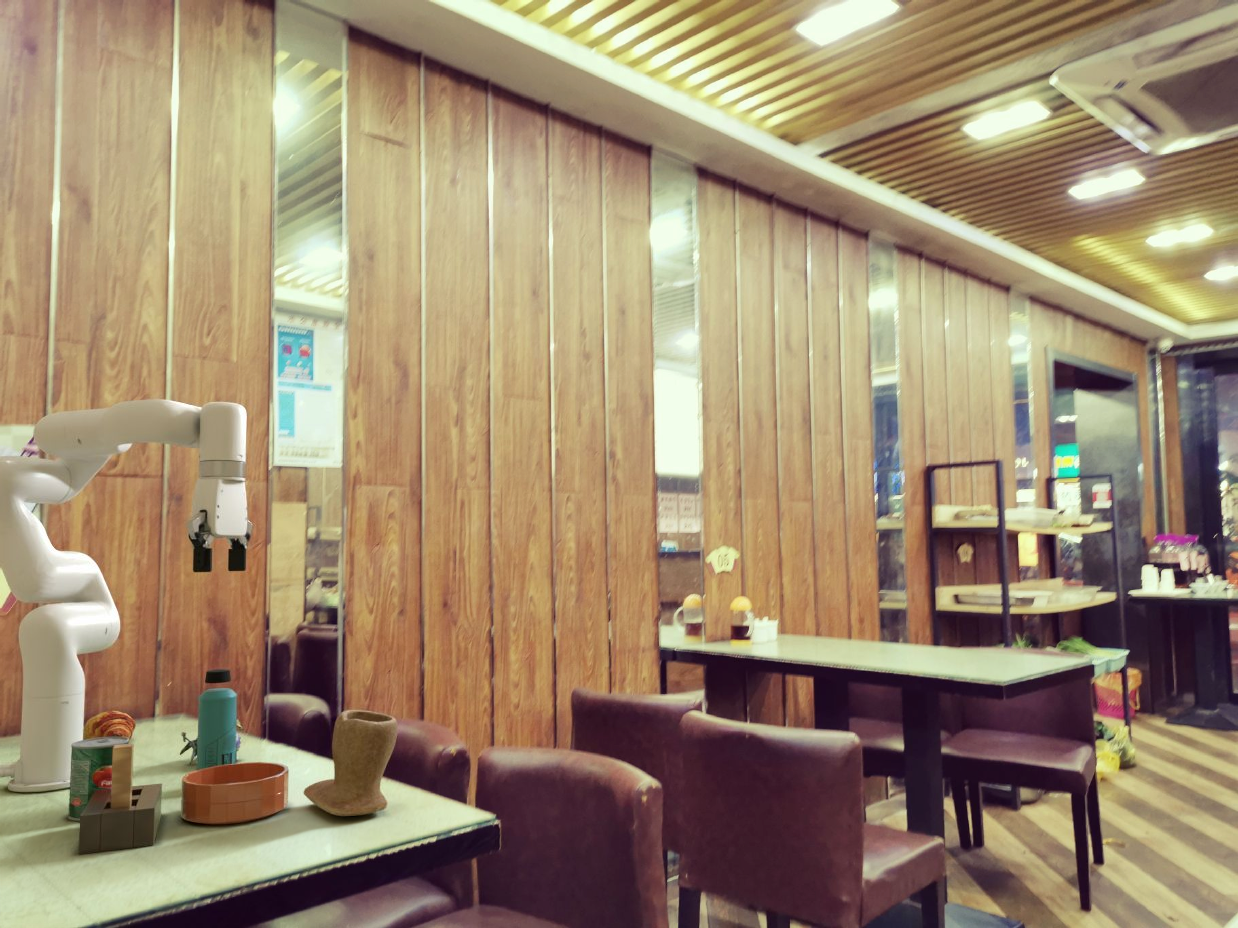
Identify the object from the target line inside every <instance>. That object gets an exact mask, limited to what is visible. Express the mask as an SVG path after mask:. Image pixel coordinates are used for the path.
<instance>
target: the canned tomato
mask: <svg viewBox="0 0 1238 928" xmlns="http://www.w3.org/2000/svg"><path fill="white" fill-rule="evenodd" d="M129 741H130V739H129V738H126V737H100V738H92V739H86V740H81V741H77V742H74V743H73V744H72V745H71V747H72V752H71V772H70V787H69V794H68V795H69V799H68V816H67V818H68V819H69V820H70V821H75V822H80V815H81V814H82V812H83V810H84V809H85V807H86V805H87V803H88V802H89V800H90V798H91V797H92V795H93V793H94V791H95V790H100V789H110V788H111V786H112V759H113V747H114V746H115V745H121V744H129Z"/></svg>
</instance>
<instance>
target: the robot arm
mask: <svg viewBox="0 0 1238 928" xmlns="http://www.w3.org/2000/svg"><path fill="white" fill-rule="evenodd" d="M33 441H34V443H35V445H36V446H37V447H38V448H39V450H41V451H42V452H43V453H45V454H47V455H49V456H51V457H55V459H49V458H41V457H40V458H39V457H32V456H24V455H2V456H0V569H1V571H2V574H3V576H4V578H5V581H6V583H7V586H8V588H9V590H10V592H11V594H12V595H13V596H14V598H15V599H17V600H18V601H19V602H22V603H26V604H44V605H41V606H38V607H36V608H34V609H33V610H30V611H29V612H28V613H26V615H25V616H24V617H23V619H22V620H21V622H20V624H19V628H18V644H19V648H20V655H21V662H22V675H23V676H22V701H21V703H22V704H21V724H20V725H21V727H20V745H19V759H18V760H17V761H13V762H12V763H11V764H0V778H5V777H7V778H8V777H10V779H11V780H9V781H8V782H7V789H8V790H9V791H11V792H16V793H40V792H51V791H57V790H63V789H67V788H70V772H71V752H72V747H71V745H72V744H73V743H74V742H77V741H81V740H83V729H84V726H85V724H84V722H85V721H84V720H85V698H86V696H85V695H86V677H85V672H84V669H83V666H82V664H81V663H80V660H79V658H78V655H85V654H91V653H96V652H97V653H98V652H101V651H104V650H106V649H108V648H111V646H113V645H114V644H115V642H117V640H118V637H119V635H120V632H121V619H120V614H119V611H118V609H117V606H116V603H115V602H114V599H113V596H112V595H111V592H110V589H109V588H108V585H107V582H106V580H105V578H104V575H103V573H102V571H101V569H100V567H99V566H98V564H97V562H95V560H94V559H93V558H92V557H91V556H89V555H88V554H85V553H83V552H79V551H74V550H58V549H56V548H55V547H54V546H53V545H52V543H51V541H50V538H49V537H48V534H47V531H46V529H45V526H44V525H43V524H42V522H41V520H39V519H38V518H37V516H36V515H35V514H34V513H33V512H32V511H31V510H29V509H28V508H27V506H26V505H25V503H26V504H27V503H28V504H43V505H61V504H64V503H65V504H66V503H67V502H69V501H71V500H73V499H74V498H75V497H76V496H77V495H79V494H80V493H81V492H82V490H83V489H85V487H86V486H87V485H88V484H89V483H90V481H92V479H93V478H94V477H95V476H96V475H97V474H98V473H99V472H100V471H101V470H102V468H103V467H104V466H105V465H106V464H107V463H108V461H109V460H110V459H111V457H112V456H113V455H121V454H124V453H125V452H127V451H129V450H130V448H131V447H132V445H133V444H143V443H144V444H146V443H157V444H164V445H171V446H177V447H181V448H189V449H199V452H198V454H199V455H198V479H196V481H195V485H194V490H193V496H192V504H191V511H190V513H191V514H190V518H189V519H188V520H187V521H186V522H185V526H186V530H187V534H188V535H187V537H188V539H189V541H190V542H191V543H190V547H191V548H192V553H193V554H192V572H193V573H211V572H212V571H213V547H211V545H212V543H213V541H214V540H215V539H222V538H223V539H224V538H226V540H227V542H228V544H229V546H230V548H228V550H227V559H228V560H227V570H228V572H245V571H246V570H247V549H248V548H249V542H250V540H251V535H252V531H253V528H254V525H253V523H252V522H250V521H249V519H248V499H247V489H246V483H245V482H246V463H247V410H246V408H245V406H243V405H241V404H239V403H237V402H228V401H227V402H226V401H212V402H207V403H205V404H203V405H202V406H196V405H191V404H187V403H183V402H179V401H174V400H169V399H162V398H154V399H153V398H150V399H137V400H126V401H121V402H117V403H116V404H113V405H112V406H110V407H104V408H91V409H79V410H78V409H77V410H66V411H57V412H53V413H49V414H47V415H45V416H43V417H42V418H41V419H39V420H38V421H37V422H36V424H35V426H34V428H33ZM46 603H49V604H46Z"/></svg>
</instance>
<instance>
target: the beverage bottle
mask: <svg viewBox="0 0 1238 928" xmlns="http://www.w3.org/2000/svg"><path fill="white" fill-rule="evenodd" d="M231 681H232V677H231V670H230V669H228V668H227V669H226V668H225V669H224V668H217V669H216V668H215V669H211V670H207V671H206V672H205V679H204V683H205V684H224V683H230V682H231ZM237 698H238V694H237V693H236V692H235V690H233V689H232V688H230V687H229V688H228V687H220V688H219V687H217V688H209V689H208V688H207V689H206V690H204V691H203V692H202V693H201V694H200V695H199V696H198V698H197V700H198V706H197V707H198V709H197V710H198V711H197V712H198V713H197V737H198V738H197V737H196V738H197V739H196V738H195V740H197V742H196V743H197V755H196V760H195V762H196V763H195V768H196V770H199V769H204V768H208V767H213V766H219V765H225V764H234V763H238V761H237V756H238V751H237V749H236V742H237V741H236V734H237V725H236V721H237V719H238V712H237V701H238V699H237Z"/></svg>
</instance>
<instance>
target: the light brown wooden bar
mask: <svg viewBox="0 0 1238 928" xmlns="http://www.w3.org/2000/svg"><path fill="white" fill-rule="evenodd" d="M134 745H135V744H134V743H128V744H121V745H115V746H114V747H113V759H112V786H111V808H120V807H130V806H132V786H133V779H134V778H133V773H134V747H135V746H134Z"/></svg>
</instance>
